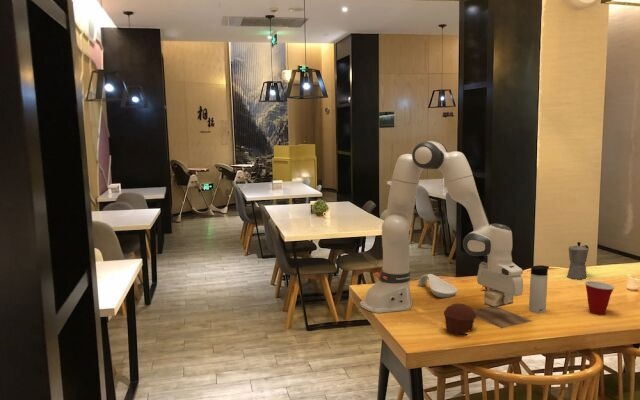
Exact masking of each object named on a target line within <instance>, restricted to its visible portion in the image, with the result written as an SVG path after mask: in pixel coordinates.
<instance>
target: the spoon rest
mask: <svg viewBox="0 0 640 400" xmlns="http://www.w3.org/2000/svg"><path fill="white" fill-rule="evenodd" d="M424 285H426V286H427V285H429V290H430V291H431V293H432V294H433V295H434V296H435V297H437V298H440V299H447V298H448V299H449V298H452V297H455V295H456V294H457V293H458V289H457V287H455V286H454V285H452V284H451V283H449V282H447V281H445V280H443V279H442V278H440V277H438V276H437V275H435V274H432V273H428V274H423V275H421V277H420V278H419V279H418V282H417V286H418V287H423V286H424Z"/></svg>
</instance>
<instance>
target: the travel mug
mask: <svg viewBox="0 0 640 400" xmlns="http://www.w3.org/2000/svg"><path fill="white" fill-rule="evenodd" d="M548 269H550V266H548V265H542V264H541V265H538V264H537V265H533V266H532V267H530V276H529V277H530V280H529V281H530V282H529V299H528V300H529V301H528V305H529V306H528V311H529V312H531V313H535V314H546V311H547V294H548V278H549V277H548V275H549V274H548V271H549V270H548Z"/></svg>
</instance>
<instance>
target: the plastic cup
mask: <svg viewBox="0 0 640 400" xmlns="http://www.w3.org/2000/svg"><path fill="white" fill-rule="evenodd" d="M584 284H585V289H586V290H585V291H586V296H587V304H588V311H589V313H590V314H593V315H596V314H597V315H598V316H603V315H605V314H606V313H607V309H608V306H609V303H610V299H611V296H612V292H613V290H614V289H616V288H615V286H614V285H612V284H609V283H606V282H601V281H594V280H586V281H584Z"/></svg>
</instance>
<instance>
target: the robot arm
mask: <svg viewBox="0 0 640 400" xmlns="http://www.w3.org/2000/svg"><path fill="white" fill-rule="evenodd" d="M411 153H412V154H411ZM411 153H404V154H402V155H399V157H398V158H397V160H396V163H395V166H394V169H393V173H392V176H391V182H390V187H389V192H388V193H389V194H388V201H387V208H386V216H385V218H384V221H383V222H382V224H381V243H382V244H381V246H382V270H381V272H377V271H376V272H374V277H377V278H378V280H377V281H376V282H375V283H374V284H373V285H372V286H371V287H370V288H369V289H367V291H366V293H365V299H364V300H362V301H360V302H359V306H360V307H361V308H363V309H365V310H366V311H369V312H372V313H376V314H380V313H382V314H383V313H389V312H391V313H392V312H400V311H408V310H411V307H412V306H413V301H412V296H411V289H410V281H411V271H410V230H411V227H412V226H411V225H412V223H413V222H412V221H413V215H414V210H415V209H414V208H415V204H416V198H417V193H418V188H419V183H420V177H421V173H423V171H424V170H438V171H440V173H441V175H442V177H443V181H444V184H445V188H446V191H447V193H448V195H449V197H450V198H451V200H452V201H455V202H456V203H459V204H460V205H462V206H463V207H464V208H465V210H466V211H467V213H468V216H469V219H470V222H471V224H472V228H473V231H471V232H469V233H468V234H466V235H465V236H464V238H463V239H462V246H463V250H464V251H465V252H466V253H467V254H468V255H469V256H473V257H482V256H483V257H484V256H487V262H485V261H482V262H480V263H479V265H478V271H477V277H476V282H477V284H478V285H480V286H482V285H483V286H482V287H484V286H486V287H487V290H486V291H490V290H497V291H500V292H503V293H504V295H505V297H504V299H502V303H503V304H508V299H509V297H510V296H511V295H512V296H513V297H519V296H522V294H523V293H524V280H523V279H524V278H523V276H522V275H523V272H524V271H523V269H522V268H521V267H519V266H518V265H517V264H515V262H513V257H512V252H513V232H512V230H511V228H510V227H509V226H508V225H505V224H501V223H491V224H490V222H489V219H488V216H487V213H486V210H485V208H484V206H483V203H482V200H481V198H480V196H479V195H480V194H479V192H478V189H477V185H476V181H475V178H474V176H473V172H472V169H471V166H470V164H469V161H468V159H467V157H466V156H465V154H464V153H463V152H461V151H456V150H454V151H450V152H448V149H447V148H446V146H445V145H444V144H443V143H441V142H439V141H435V140H428V141H422V142H420V143H418V144H417V145H416V146H415V147H414V148H413V149H412V152H411ZM508 305H509V304H508Z"/></svg>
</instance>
